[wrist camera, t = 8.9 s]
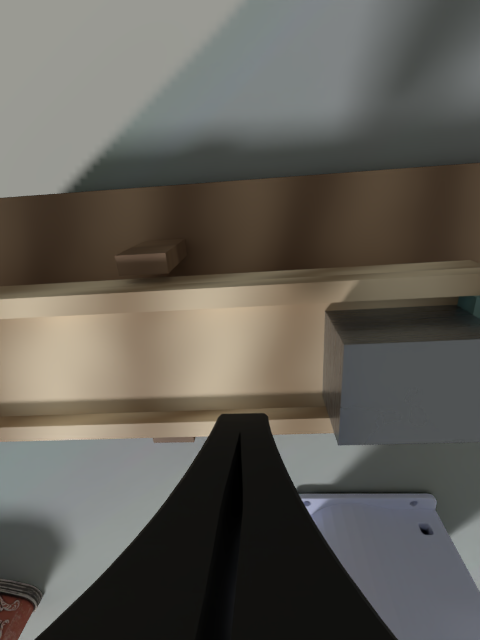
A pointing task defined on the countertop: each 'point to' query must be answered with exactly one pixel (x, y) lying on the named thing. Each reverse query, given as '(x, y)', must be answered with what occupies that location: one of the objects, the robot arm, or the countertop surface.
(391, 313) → the grey block
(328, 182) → the stand
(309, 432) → the beam
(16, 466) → the countertop surface
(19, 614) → the red tin
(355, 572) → the robot arm
